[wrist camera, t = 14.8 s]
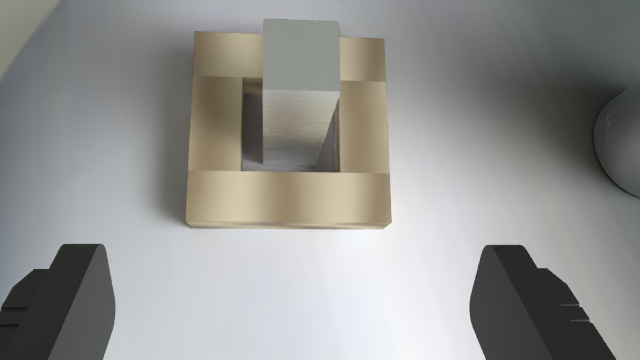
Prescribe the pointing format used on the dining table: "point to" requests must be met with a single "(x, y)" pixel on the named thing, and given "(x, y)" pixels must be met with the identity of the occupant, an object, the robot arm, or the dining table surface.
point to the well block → (286, 187)
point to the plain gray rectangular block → (298, 88)
